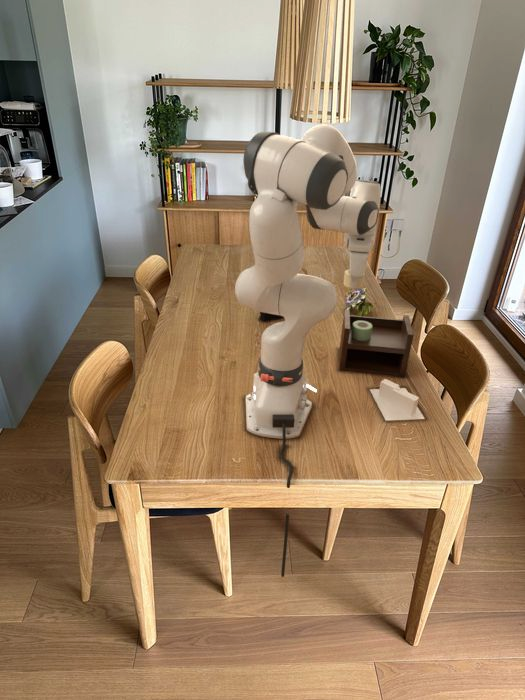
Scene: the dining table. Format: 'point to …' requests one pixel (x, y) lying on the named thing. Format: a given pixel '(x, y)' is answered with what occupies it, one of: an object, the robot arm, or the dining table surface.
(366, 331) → the sage tape roll
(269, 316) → the film camera
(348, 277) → the cream tape roll
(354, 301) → the passion flower
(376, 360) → the shelf
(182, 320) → the dining table surface
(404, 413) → the napkin holder
